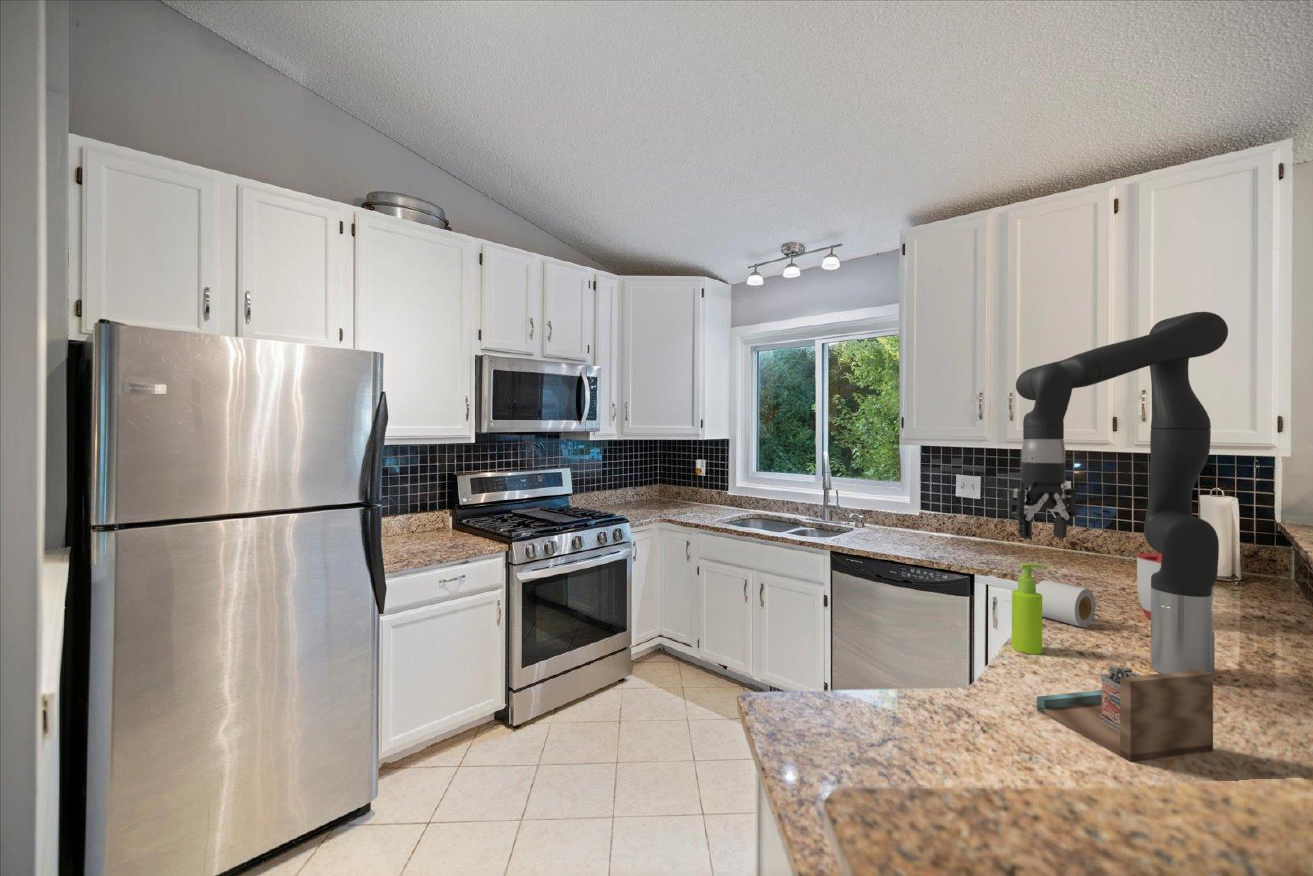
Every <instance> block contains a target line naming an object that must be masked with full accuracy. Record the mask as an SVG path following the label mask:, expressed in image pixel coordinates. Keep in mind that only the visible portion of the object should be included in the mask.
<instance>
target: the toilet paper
mask: <svg viewBox="0 0 1313 876" xmlns="http://www.w3.org/2000/svg"><path fill="white" fill-rule="evenodd" d="M1036 593H1039V594H1041V595H1042V618H1047V619H1049V620H1054V621H1057V622H1061V623H1065V624H1069V625H1072V626H1076V627H1080V628H1083V627H1084V628H1087V627H1089V626H1091V624H1092V622H1093V620H1094V617H1095V614H1096V608H1097V607H1096V603H1097V602H1096V599H1095V596H1094V593H1093V591H1092V590H1091V589H1088V588H1085V587H1081V586H1080V587H1079V586H1075V585H1069V584H1064V583H1060V582H1056V581H1052V580H1051V581H1050V580H1045V579H1044V580H1042V581H1040V582H1039V583H1038V584H1036Z"/></svg>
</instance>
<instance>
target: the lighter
mask: <svg viewBox="0 0 1313 876" xmlns="http://www.w3.org/2000/svg"><path fill="white" fill-rule="evenodd" d="M1108 672H1109V674H1107V673H1103V674H1100V675H1099V676H1100V678H1099V679H1100V681H1101V690H1102V713H1101V714H1100V720H1101V721H1102V722H1104V723H1105V724H1107V725H1108V726H1110V727H1112V728H1114V729H1115V730H1117V731H1119V732H1120V678H1121V677H1132V676H1142V675H1143V674H1140V673H1138V672H1136V671H1134V672H1133V669H1131V667H1127V666H1126V667H1125V666H1124V667H1121V666H1118V665H1116V664H1112V663H1111V664H1108Z"/></svg>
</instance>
